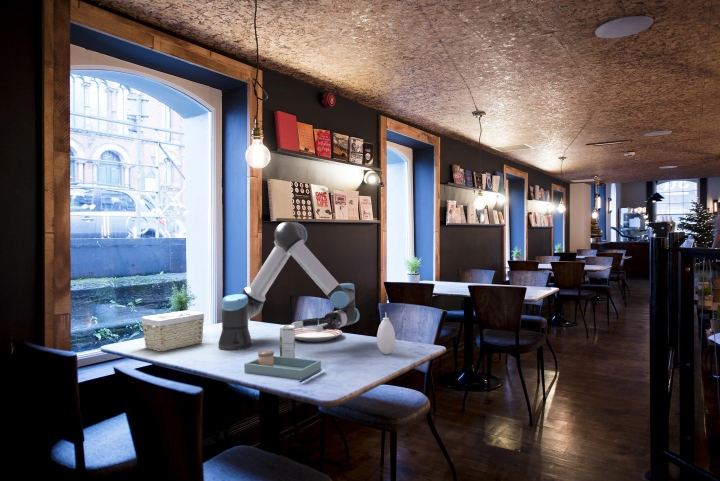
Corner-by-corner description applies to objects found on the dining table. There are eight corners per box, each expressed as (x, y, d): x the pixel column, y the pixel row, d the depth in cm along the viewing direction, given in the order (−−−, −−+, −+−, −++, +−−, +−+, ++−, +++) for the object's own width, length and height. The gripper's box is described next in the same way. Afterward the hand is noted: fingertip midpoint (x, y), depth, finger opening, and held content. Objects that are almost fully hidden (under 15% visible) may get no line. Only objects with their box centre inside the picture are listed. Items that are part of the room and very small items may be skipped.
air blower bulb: (375, 352, 204) (374, 310, 204) (392, 351, 205) (391, 309, 205) (379, 356, 196) (379, 313, 196) (397, 355, 198) (397, 312, 198)
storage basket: (158, 353, 207) (157, 319, 207) (140, 348, 217) (139, 316, 217) (206, 343, 226) (205, 312, 226) (187, 339, 236) (187, 309, 236)
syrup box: (280, 360, 192) (280, 324, 192) (295, 360, 192) (295, 324, 192) (279, 364, 186) (279, 327, 186) (294, 363, 186) (294, 327, 186)
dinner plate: (311, 330, 254) (311, 324, 254) (353, 336, 239) (352, 329, 239) (275, 340, 232) (275, 333, 232) (318, 346, 216) (318, 339, 216)
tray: (244, 374, 172) (244, 363, 172) (267, 365, 185) (266, 355, 185) (301, 382, 162) (301, 370, 162) (320, 371, 175) (320, 360, 175)
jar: (254, 369, 175) (254, 353, 175) (264, 365, 180) (264, 350, 180) (268, 371, 173) (267, 354, 173) (277, 367, 178) (276, 351, 178)
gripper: (357, 330, 208) (328, 339, 190) (314, 325, 222) (282, 334, 204) (357, 313, 208) (327, 320, 190) (313, 309, 222) (282, 316, 204)
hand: (304, 327), depth 197 cm, fingers open, 13 cm apart
